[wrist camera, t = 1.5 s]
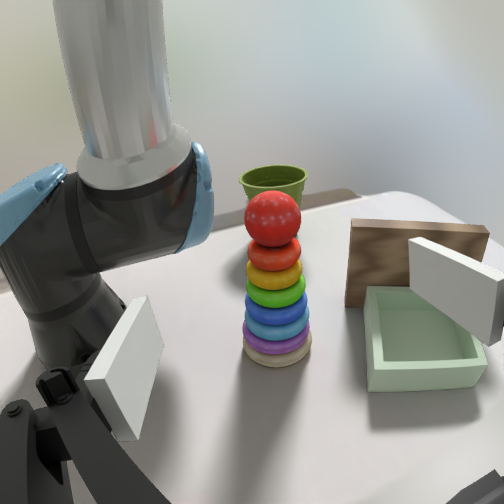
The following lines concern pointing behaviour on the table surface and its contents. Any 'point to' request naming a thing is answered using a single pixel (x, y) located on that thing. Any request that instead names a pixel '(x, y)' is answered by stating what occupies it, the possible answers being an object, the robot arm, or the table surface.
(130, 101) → the robot arm
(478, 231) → the backstop wall
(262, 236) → the stacking toy
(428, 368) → the mint green square tray
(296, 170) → the plant pot
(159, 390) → the table surface
